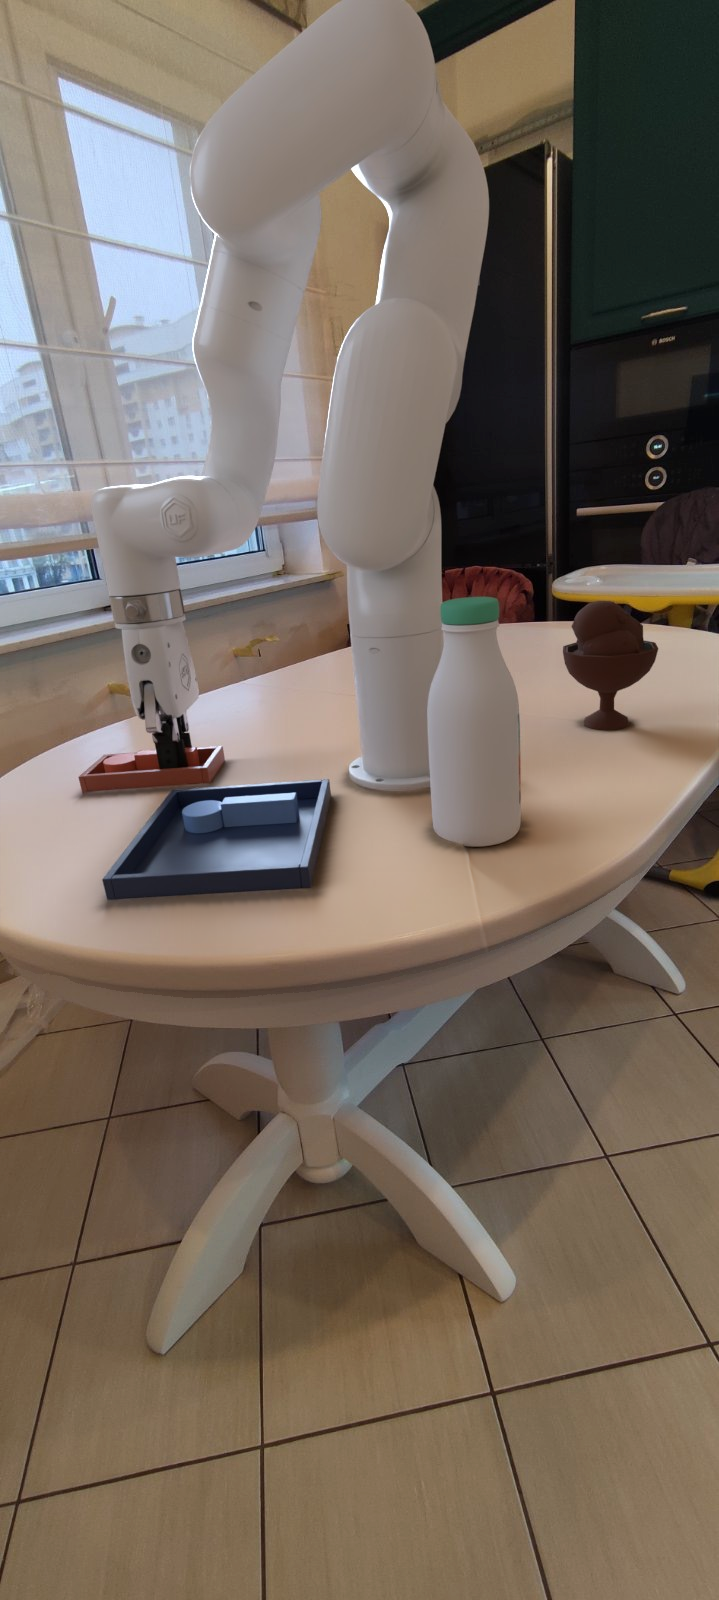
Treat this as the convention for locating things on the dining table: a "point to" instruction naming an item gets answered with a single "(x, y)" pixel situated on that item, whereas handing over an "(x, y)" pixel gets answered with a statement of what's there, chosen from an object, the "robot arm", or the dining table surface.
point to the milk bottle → (473, 730)
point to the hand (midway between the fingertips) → (178, 768)
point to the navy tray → (222, 847)
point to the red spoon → (144, 761)
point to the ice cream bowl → (608, 657)
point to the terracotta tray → (153, 773)
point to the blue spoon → (241, 812)
